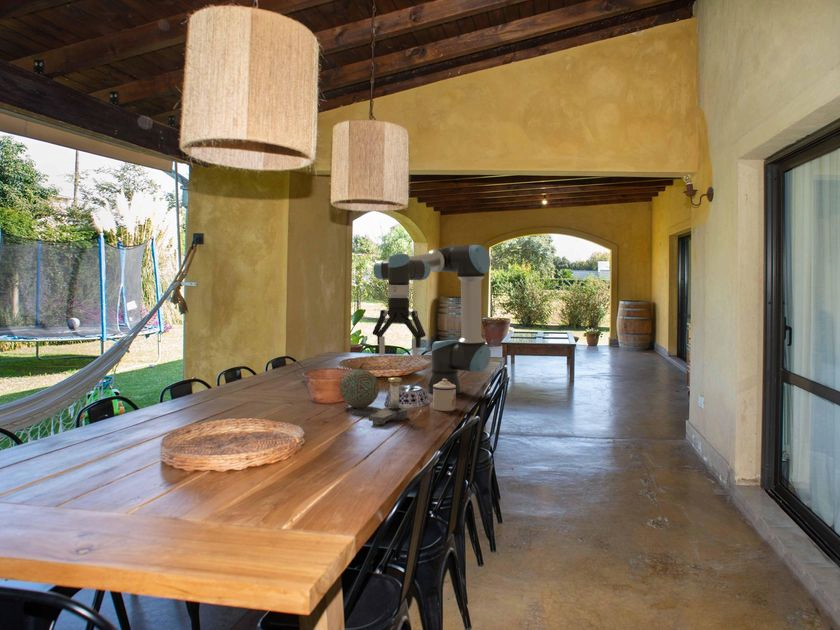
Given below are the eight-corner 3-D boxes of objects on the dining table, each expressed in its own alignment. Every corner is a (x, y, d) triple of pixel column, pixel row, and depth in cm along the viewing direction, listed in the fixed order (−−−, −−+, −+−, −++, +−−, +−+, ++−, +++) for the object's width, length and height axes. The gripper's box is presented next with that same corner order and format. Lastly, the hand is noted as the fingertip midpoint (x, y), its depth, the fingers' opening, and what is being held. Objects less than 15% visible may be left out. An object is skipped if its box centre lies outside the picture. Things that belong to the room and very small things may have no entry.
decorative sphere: (333, 410, 224) (333, 370, 223) (348, 402, 238) (349, 365, 238) (370, 413, 220) (371, 372, 219) (384, 405, 234) (384, 367, 234)
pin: (391, 415, 216) (392, 377, 215) (403, 417, 214) (403, 378, 213) (385, 418, 212) (385, 378, 211) (397, 420, 210) (397, 380, 209)
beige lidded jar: (457, 411, 225) (458, 381, 224) (433, 411, 224) (434, 380, 224) (453, 405, 237) (453, 376, 236) (430, 405, 236) (431, 375, 236)
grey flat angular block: (362, 410, 223) (362, 402, 223) (410, 416, 215) (410, 408, 215) (335, 420, 207) (335, 411, 207) (386, 427, 198) (387, 418, 198)
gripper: (363, 296, 216) (363, 354, 217) (426, 298, 205) (426, 359, 207) (373, 295, 222) (373, 352, 224) (434, 297, 212) (434, 356, 214)
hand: (398, 355), depth 215 cm, fingers open, 13 cm apart
